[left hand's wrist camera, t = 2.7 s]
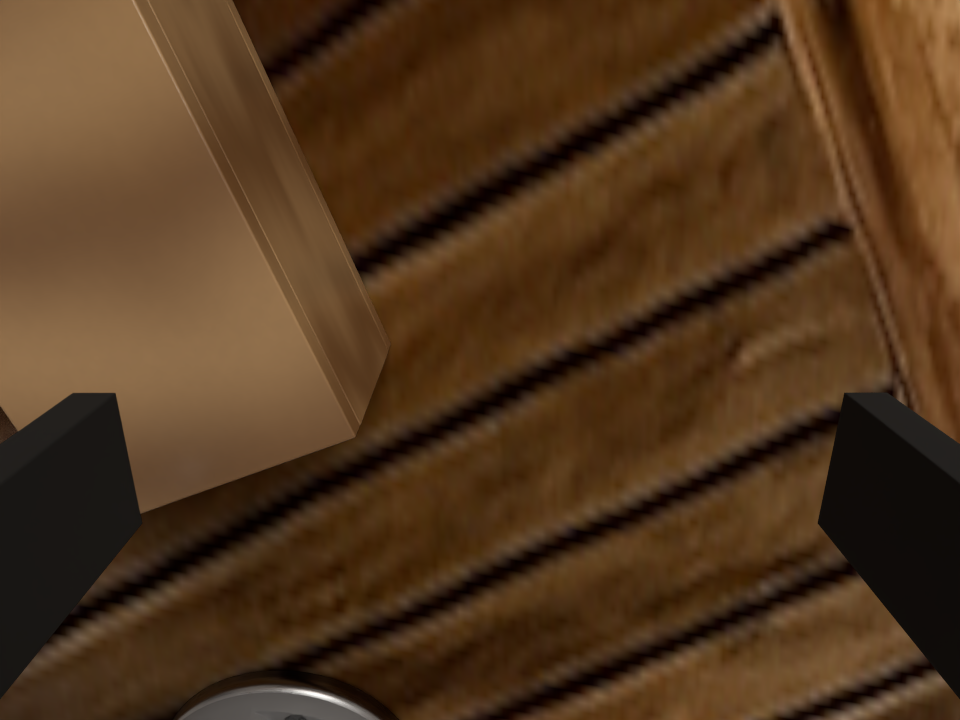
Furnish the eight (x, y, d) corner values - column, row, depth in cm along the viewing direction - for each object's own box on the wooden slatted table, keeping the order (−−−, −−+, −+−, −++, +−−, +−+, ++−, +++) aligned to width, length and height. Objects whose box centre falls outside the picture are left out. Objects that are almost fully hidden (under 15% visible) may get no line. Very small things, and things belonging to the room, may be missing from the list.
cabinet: (-64, -15, 26) (-337, -73, 17) (172, -132, 25) (3, -259, 16) (193, 418, 33) (88, 533, 24) (391, 344, 31) (356, 438, 22)
